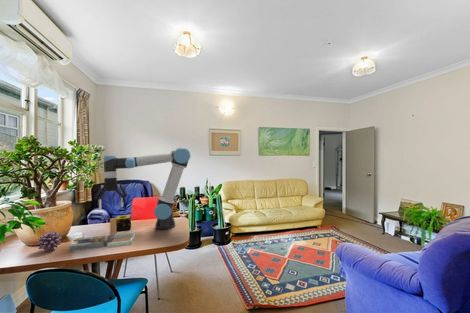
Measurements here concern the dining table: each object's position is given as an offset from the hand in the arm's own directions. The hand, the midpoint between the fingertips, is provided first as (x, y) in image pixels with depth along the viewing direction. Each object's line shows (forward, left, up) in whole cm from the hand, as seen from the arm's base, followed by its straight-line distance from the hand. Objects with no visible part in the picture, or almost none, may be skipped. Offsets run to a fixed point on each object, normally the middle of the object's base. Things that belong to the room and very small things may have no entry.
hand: (111, 208), depth 146 cm
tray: (-9, +12, -21) cm, 25 cm away
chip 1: (+6, +12, -20) cm, 24 cm away
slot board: (+7, +12, -21) cm, 25 cm away
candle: (-4, -16, -21) cm, 27 cm away
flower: (+30, +12, -21) cm, 38 cm away
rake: (-1, 0, -21) cm, 21 cm away
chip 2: (+2, +12, -20) cm, 23 cm away
